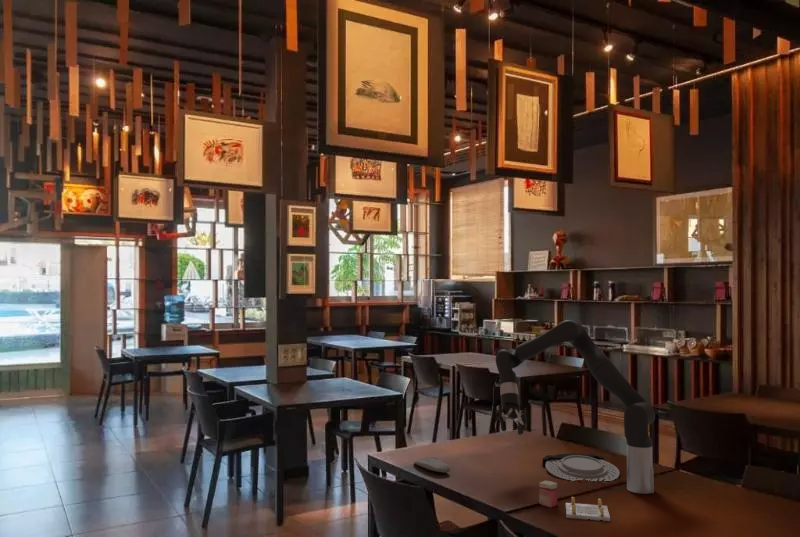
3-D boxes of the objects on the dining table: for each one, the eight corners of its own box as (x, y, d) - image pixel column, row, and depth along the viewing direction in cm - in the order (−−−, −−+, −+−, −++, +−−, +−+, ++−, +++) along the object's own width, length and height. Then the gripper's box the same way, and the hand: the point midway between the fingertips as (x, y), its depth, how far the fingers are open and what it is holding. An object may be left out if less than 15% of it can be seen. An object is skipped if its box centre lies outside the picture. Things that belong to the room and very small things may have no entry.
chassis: (607, 509, 226) (606, 498, 227) (610, 521, 215) (610, 510, 215) (565, 506, 230) (565, 495, 230) (566, 517, 218) (566, 506, 218)
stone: (430, 462, 289) (409, 464, 285) (430, 454, 289) (409, 456, 285) (453, 474, 266) (431, 477, 263) (453, 465, 267) (431, 468, 263)
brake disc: (539, 460, 290) (539, 450, 290) (607, 461, 288) (607, 451, 288) (552, 483, 258) (552, 471, 258) (629, 484, 256) (629, 472, 256)
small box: (538, 504, 231) (538, 482, 231) (545, 501, 234) (545, 479, 235) (551, 508, 228) (551, 485, 228) (557, 505, 231) (557, 482, 231)
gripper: (501, 389, 270) (504, 427, 261) (528, 395, 276) (531, 433, 267) (490, 394, 275) (493, 432, 267) (517, 400, 282) (520, 437, 273)
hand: (512, 432), depth 267 cm, fingers open, 8 cm apart
